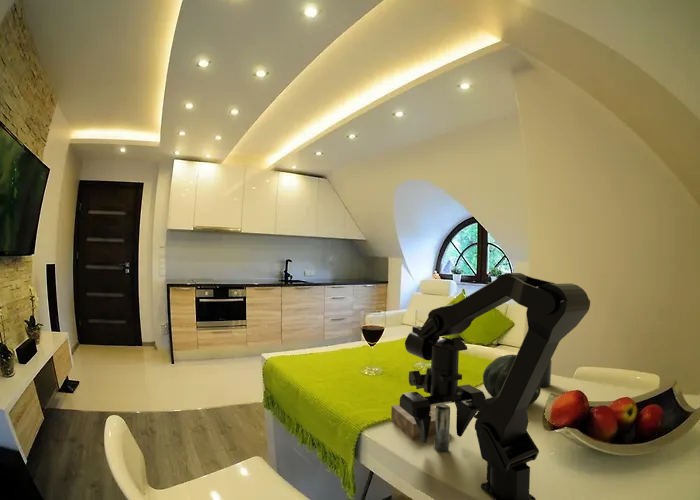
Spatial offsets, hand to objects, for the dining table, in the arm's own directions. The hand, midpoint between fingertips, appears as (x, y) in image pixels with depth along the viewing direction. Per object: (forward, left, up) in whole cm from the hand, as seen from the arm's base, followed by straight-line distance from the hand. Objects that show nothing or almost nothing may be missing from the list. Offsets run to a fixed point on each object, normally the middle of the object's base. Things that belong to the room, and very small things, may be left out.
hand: (441, 439), depth 76 cm
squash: (+14, -35, -2) cm, 38 cm away
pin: (0, 0, -2) cm, 2 cm away
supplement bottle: (+22, -56, -2) cm, 60 cm away
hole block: (+10, -1, -2) cm, 10 cm away
